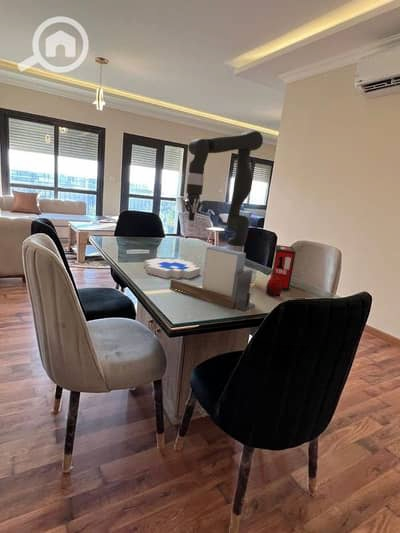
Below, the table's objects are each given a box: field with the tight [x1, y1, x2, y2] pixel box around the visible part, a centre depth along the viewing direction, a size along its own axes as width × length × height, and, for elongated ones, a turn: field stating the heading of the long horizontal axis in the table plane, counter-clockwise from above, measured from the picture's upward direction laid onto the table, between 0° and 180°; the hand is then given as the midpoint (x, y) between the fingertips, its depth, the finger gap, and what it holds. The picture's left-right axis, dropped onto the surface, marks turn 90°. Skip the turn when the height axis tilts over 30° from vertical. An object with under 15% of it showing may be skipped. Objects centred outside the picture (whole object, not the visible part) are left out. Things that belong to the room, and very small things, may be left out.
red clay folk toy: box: [265, 265, 282, 298], centre depth 146 cm, size 8×7×15 cm
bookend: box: [229, 269, 256, 313], centre depth 126 cm, size 13×6×14 cm, turn 146°
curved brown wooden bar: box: [169, 278, 252, 310], centre depth 137 cm, size 12×33×4 cm, turn 56°
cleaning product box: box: [269, 244, 297, 292], centre depth 163 cm, size 16×9×20 cm, turn 168°
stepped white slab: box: [143, 257, 201, 280], centre depth 170 cm, size 28×4×28 cm
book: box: [201, 245, 247, 297], centre depth 131 cm, size 6×15×21 cm, turn 55°
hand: (191, 220), depth 153 cm, fingers closed
